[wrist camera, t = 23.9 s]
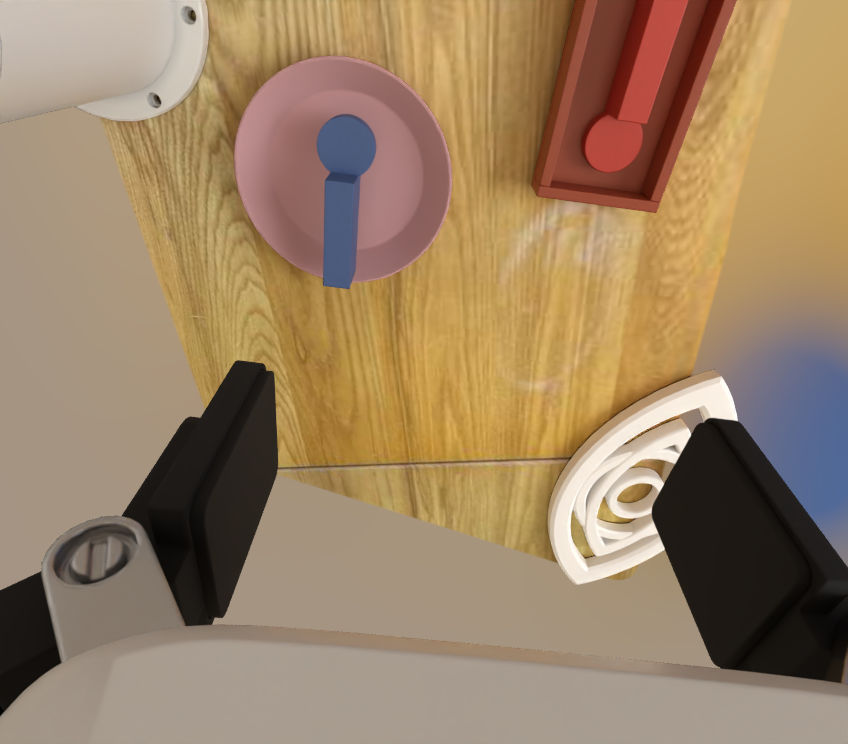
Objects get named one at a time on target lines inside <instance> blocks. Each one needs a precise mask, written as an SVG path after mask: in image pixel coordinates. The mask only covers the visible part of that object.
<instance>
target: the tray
mask: <svg viewBox="0 0 848 744" xmlns="http://www.w3.org/2000/svg"><path fill="white" fill-rule="evenodd" d="M636 1H637V0H575V4H574V8H573V12H572V16H571V21H570V25H569V29H568V33H567V37H566V42H565V46H564V50H563V54H562V59H561V63H560V67H559V71H558V76H557V80H556V84H555V88H554V92H553V97H552V101H551V105H550V109H549V114H548V118H547V122H546V126H545V130H544V135H543V139H542V143H541V147H540V152H539V156H538V160H537V164H536V169H535V173H534V177H533V181H532V188H533V189H534V191H535V193H536V195H537V196H538V197H545V198H552V199H559V200H566V201H574V202H581V203H588V204H595V205H603V206H610V207H617V208H624V209H631V210H639V211H646V212H653V213H656V212H657V209H658V207H659V204H660V201H661V199H662V196H663V193H664V191H665V188H666V185H667V183H668V180H669V178H670V175H671V172H672V170H673V167H674V164H675V162H676V159H677V156H678V154H679V151H680V149H681V146H682V143H683V141H684V138H685V135H686V133H687V130H688V127H689V125H690V122H691V120H692V117H693V114H694V112H695V109H696V106H697V104H698V101H699V99H700V96H701V93H702V91H703V88H704V85H705V83H706V80H707V77H708V75H709V72H710V70H711V67H712V64H713V62H714V59H715V56H716V54H717V51H718V48H719V46H720V43H721V41H722V38H723V35H724V33H725V30H726V27H727V25H728V22H729V19H730V17H731V14H732V12H733V9H734V6H735V4H736V1H737V0H688V3H687V6H686V9H685V12H684V15H683V18H682V21H681V24H680V27H679V30H678V33H677V36H676V39H675V41H674V44H673V47H672V50H671V53H670V56H669V59H668V62H667V65H666V68H665V71H664V74H663V77H662V80H661V83H660V86H659V89H658V92H657V95H656V98H655V101H654V104H653V107H652V110H651V113H650V115H649V118H648V121H647V124H641V127H642V130H643V142H642V146H641V149H640V151H639V153H638V155H637V156H636V158H635V159H634V160H633V161H632V162H631V163H630V164H629V165H628V166H627V167H625V168H624V169H622V170H619V171H617V172H612V173H604V172H600V171H597V170H596V169H594V168H593V167H592V166H591V165H590V164H589V163H588V162H587V161H586V160H585V158H584V156H583V153H582V138H583V134H584V132H585V130H586V128H587V126H588V125H589V123H590V122H591V121H592V120H593V119H594V118H595V117H596V116H598V115H599V114H601V113H603V112H604V111H605V107H606V104H607V101H608V97H609V94H610V90H611V87H612V83H613V80H614V77H615V73H616V70H617V66H618V63H619V59H620V56H621V53H622V49H623V46H624V42H625V39H626V35H627V32H628V29H629V25H630V22H631V18H632V15H633V12H634V8H635V5H636Z"/></svg>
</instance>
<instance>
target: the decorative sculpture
mask: <svg viewBox="0 0 848 744" xmlns="http://www.w3.org/2000/svg"><path fill="white" fill-rule="evenodd" d="M696 408H698V409H699V411H700V414H701V417H702V420H703V423H704V421H705V420H707V419H708V418H719V419H727V420H735V421H738V420H737V414H736V410H735V406H734V402H733V398H732V396H731V394H730V391H729V389H728V387H727V385H726V383H725V381H724V380H723V378H722V377H721V375H720V374H719V373H718V372H717V371H716V370H715V369H714V370H710V371H706V372H703V373H700V374H697V375H695V376H692V377H689V378H686V379H684V380H681V381H678V382H676V383H674V384H672V385H669V386H667V387H665V388H663V389H661V390H658V391H656V392H654V393H653V394H651V395H649V396H647V397H645V398H643V399H641V400H640V401H638V402H636V403H634V404H633V405H631V406H630V407H628V408H626V409H625V410H623V411H622V412H620V413H619V414H618V415H616V416H615V417H613V418H612V419H611V420H609V421H608V422H607V423H605V424H604V425H603V426H602V427H601V428H600V429H598V430H597V431H596V432H595V433H594V434H593V435H592V436H590V437H589V439H588V440H587V441H586V442H585V443H584V444H583V445H582V446H581V447H580V448H579V449H578V450H577V451H576V453H575V454H574V455H573V457H572V458H571V459H570V461H569V462H568V463H567V465H566V466H565V468H564V470H563V471H562V473H561V474H560V477H559V479H558V481H557V483H556V485H555V487H554V490H553V492H552V495H551V498H550V503H549V508H548V520H547V524H548V533H549V537H550V541H551V545H552V548H553V552H554V555H555V557H556V559H557V561H558V564H559V565H560V567H561V568H562V570H563V571H564V573H565V574H566V575H567V576H568V577H569V579H570V580H571V581H572V582H573V583H574V584H576V585H578V584H583V583H587V582H591V581H594V580H598V579H601V578H605V577H608V576H611V575H614V574H616V573H619V572H621V571H624V570H626V569H629V568H631V567H633V566H635V565H637V564H639V563H641V562H644V561H646V560H647V559H649V558H651V557H653V556H655V555H656V554H658V553H660V552H661V551H663V550H664V549H665V548H664V546H663V544H662V541H661V539H660V536H659V534H658V532H657V529H656V527H655V524H654V522H653V519H652V506H653V503H654V501H655V500H656V498H657V496H658V494H659V492H660V491H661V489H662V487H663V485H664V483H663V481H662V480H661V478H660V476H659V475H658V473H656V472H655V471H654V470H652V469H649V468H644V467H636V468H630V467H632V466H633V465H635V464H636V463H637V462H639V461H641V460H642V459H660V460H665V461H668V462H671V463H674V464H675V463H676V462H677V460H678V458H679V456H680V454H681V452H682V451H683V449H684V447H685V445H686V443H687V442H688V440H689V438H690V436H691V433H690V431H689V429H688V427H687V426H686V424H685V423H684V422H683V420H682V419H681V418H679V419H676V420H673V421H670V422H668V423H665V424H663V425H660V426H658V427H656V428H654V429H652V430H650V431H648V432H646V433H644V434H643V435H641V436H639V437H637V438H636V439H634V440H633V441H631V442H630V443H628V444H625V445H623V444H624V443H626V442H627V441H629V440H630V439H631V438H633V437H635V436H636V435H638V434H640V433H641V432H643V431H645V430H646V429H648V428H650V427H652V426H654V425H656V424H658V423H660V422H662V421H665V420H667V419H669V418H672V417H674V416H676V415H679V414H682V413H684V412H687V411H690V410H693V409H696ZM629 468H630V469H629ZM638 483H648V484H651V485H652V489H651V491H650V493H649V494H648V495H647V496H646V497H644V498H643V499H641V500H639V501H637V502H633V503H623V502H619V501H618V500H617V497H618V495H619V494H620V493H621V492H622V491H623V490H624V489H625V488H627V487H629V486H631V485H634V484H638ZM604 496H605V499H606V502H607V504H608V507H609V509H610V510H611V512H613V513H614V514H615V515H617V516H619V517H622V518H637V519H635V520H634V521H632V522H630V523H627V524H616V523H609V522H605V521H602V520H600V519H598V518H597V514H598V509H599V506H600V504H601V501H602V499H603V497H604ZM572 510H574V513H575V516H576V518H577V520H578V521H579V523H580V524H581V525H582V527H583V530H584V534H585V536H586V539H587V542H588V544H589V546H590V548H591V550H592V551H593V553H594V554H595V555H596V556H593V557H590V558H586V559H585V558H584V557H583V556H582V555H581V553H580V552H579V551H578V549H577V548H576V546H575V544H574V542H573V540H572V537H571V528H570V524H571V514H572Z"/></svg>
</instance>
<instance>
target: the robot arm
mask: <svg viewBox="0 0 848 744" xmlns="http://www.w3.org/2000/svg"><path fill="white" fill-rule="evenodd" d="M192 10H193V11H195V14H196V20H195V21H194V20H193V19H192V18H191V12H192ZM208 39H209V28H208V11H207V6H206V1H205V0H0V123H5V122H9V121H13V120H18V119H21V118H26V117H31V116H35V115H38V114H43V113H48V112H52V111H56V110H60V109H65V108H69V107H73V106H74V107H76V108H78V109H80V110H83V111H85V112H87V113H89V114H92V115H94V116H97V117H101V118H105V119H110V120H114V121H133V122H134V121H139V120H145V119H150V118H153V117H156V116H159V115H162V114H164V113H166V112H168V111H169V110H171V109H173V108H174V107H176V106H177V105H179V104H180V103H181V102H182V101H183V100H184V99H185V98H186V97H187V96H188V95H189V94H190V93H191V91H192V89H193V88H194V86H195V84H196V83H197V81H198V79H199V77H200V75H201V72H202V69H203V66H204V63H205V60H206V55H207V47H208ZM157 95H158V96H159V97H160V100H161V103H160V102H159V101H158V100H157ZM277 469H278V448H277V426H276V403H275V381H274V373H273V372H272V371H266V367H265V365H264V364H263V363H255V362H247V361H239V360H238V361H235V363H234V364H233V366H232V367H231V369H230V371H229V372H228V374H227V375H226V377H225V379H224V380H223V382H222V384H221V385H220V387H219V389H218V390H217V392H216V393H215V395H214V397H213V398H212V400H211V402H210V403H209V405H208V407H207V408H206V410H205V411H204V413H203V415H202V416H201V418H197V417H188V418H186V419H185V420H184V422H183V423H182V424H181V425H180V427H179V429H178V430H177V432H176V433H175V435H174V436H173V438H172V439H171V441H170V442H169V444H168V446H167V447H166V448H165V450H164V452H163V453H162V455H161V456H160V458H159V459H158V461H157V463H156V464H155V466H154V467H153V469H152V470H151V472H150V473H149V475H148V476H147V478H146V479H145V481H144V482H143V484H142V486H141V487H140V489H139V490H138V492H137V493H136V495H135V496H134V498H133V499H132V501H131V502H130V504H129V505H128V507H127V509H126V510H125V512H124V513H123V515H122V516H105V517H99V518H95V519H92V520H88V521H85V522H83V523H81V524H79V525H77V526H75V527H73V528H71V529H70V530H68V531H67V532H65V533H64V534H63V535H61V536H60V537H59V538H57V540H56V541H55V542H54V543H53V544H52V545H51V547H50V548H49V549H48V550H47V552H46V554H45V556H44V559H43V561H42V567H41V572H39V573H37V574H34V575H33V576H30V577H28V578H26V579H24V580H22V581H19V582H17V583H16V584H13V585H11V586H9V587H7V588H5V589H2V590H0V744H848V567H847V566H846V564H845V563H844V562H843V560H842V559H841V558H840V556H839V555H838V554H837V552H836V551H835V550H834V549H833V547H832V546H831V544H830V543H829V542H828V540H827V539H826V538H825V536H824V535H823V533H822V532H821V531H820V529H819V528H818V527H817V525H816V524H815V523H814V521H813V520H812V518H811V517H810V516H809V515H808V513H807V512H806V510H805V509H804V508H803V506H802V505H801V504H800V503H799V501H798V500H797V498H796V497H795V495H794V494H793V493H792V492H791V490H790V489H789V487H788V486H787V485H786V483H785V482H784V481H783V479H782V478H781V477H780V475H779V474H778V473H777V471H776V470H775V469H774V467H773V466H772V464H771V463H770V462H769V460H768V459H767V458H766V456H765V455H764V454H763V452H762V451H761V450H760V448H759V447H758V446H757V444H756V443H755V442H754V440H753V439H752V437H751V436H750V435H749V433H748V432H747V431H746V429H745V428H744V427H743V425H742V424H741V423H740V422H738V421H735V420H727V419H719V418H708V419H707V420H705V421H704V423H700V424H698V425H697V426H696V427H695V429H694V431H693V433H692V434H691V436H690V438H689V440H688V442H687V443H686V445H685V447H684V449H683V451H682V452H681V454H680V456H679V458H678V460H677V462H676V463H675V466H674V467H673V469H672V471H671V472H670V474H669V476H668V478H667V480H666V481H665V483H664V485H663V487H662V489H661V491H660V492H659V494H658V496H657V498H656V500H655V501H654V503H653V506H652V519H653V522H654V524H655V527H656V529H657V532H658V534H659V536H660V539H661V541H662V544H663V546H664V548H665V551H666V553H667V555H668V558H669V560H670V562H671V565H672V567H673V570H674V572H675V575H676V577H677V579H678V582H679V584H680V587H681V589H682V591H683V593H684V596H685V598H686V601H687V603H688V606H689V608H690V610H691V613H692V615H693V618H694V620H695V622H696V624H697V627H698V629H699V632H700V634H701V637H702V639H703V641H704V644H705V646H706V649H707V651H708V653H709V656H710V658H711V660H712V661H713V663H714V664H715V665H716V666H718V667H720V668H721V669H719V668H709V667H700V666H689V665H680V664H670V663H660V662H652V661H641V660H632V659H622V658H612V657H602V656H592V655H582V654H572V653H562V652H552V651H542V650H531V649H521V648H511V647H501V646H490V645H479V644H470V643H458V642H447V641H437V640H426V639H416V638H405V637H394V636H383V635H373V634H361V633H350V632H338V631H324V630H312V629H298V628H286V627H273V626H272V627H271V626H253V625H212V623H213V621H214V618H215V617H217V618H223V617H224V615H225V613H226V611H227V608H228V606H229V604H230V600H231V598H232V595H233V593H234V590H235V587H236V584H237V582H238V579H239V576H240V573H241V571H242V568H243V565H244V563H245V560H246V557H247V555H248V552H249V549H250V546H251V544H252V541H253V538H254V535H255V533H256V530H257V527H258V525H259V522H260V519H261V516H262V513H263V511H264V508H265V505H266V503H267V500H268V497H269V495H270V492H271V489H272V486H273V484H274V481H275V478H276V474H277Z"/></svg>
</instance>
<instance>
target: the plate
mask: <svg viewBox="0 0 848 744" xmlns="http://www.w3.org/2000/svg"><path fill="white" fill-rule="evenodd" d="M340 114H351V115H354V116H357V117H359V118H361V119H362V120H364V121H365V122H366V123H367V124H368V125H369V127H370V128H371V130H372V132H373V133H374V136H375V140H376V155H375V158H374V160H373V162H372V164H371V166H370V168H369V169H368V170H367V171H366V172H365V173H364V174H362V175H361V178H360V197H359V216H358V234H357V253H356V271H355V274H354V277H353V280H352V283H356V282H368V281H374V280H378V279H382V278H385V277H388V276H390V275H393V274H395V273H397V272H399V271H401V270H403V269H404V268H406V267H407V266H409V265H410V264H412V263H413V262H414V261H416V260H417V259H418V258H419V257H420V256H421V255H422V254H423V253H424V252H425V251H426V250H427V249H428V248H429V246H430V245H431V244H432V242H433V241H434V239H435V238H436V236H437V235H438V233H439V231H440V229H441V227H442V225H443V223H444V220H445V217H446V215H447V211H448V208H449V204H450V198H451V191H452V169H451V161H450V155H449V151H448V147H447V144H446V141H445V138H444V135H443V133H442V130H441V128H440V126H439V124H438V122H437V120H436V119H435V117H434V115H433V113H432V112H431V110H430V109H429V107H428V106H427V105H426V103H425V102H424V101H423V100H422V98H421V97H420V96H419V95H418V94H417V93H416V92H415V91H414V90H413V89H412V88H411V87H410V86H409V85H408V84H406V83H405V82H404V81H403V80H401V79H400V78H399V77H397V76H396V75H394V74H393V73H391V72H389V71H388V70H386V69H384V68H382V67H380V66H378V65H375V64H373V63H371V62H368V61H365V60H361V59H357V58H352V57H346V56H319V57H313V58H309V59H305V60H302V61H299V62H296V63H294V64H291V65H289V66H287V67H285V68H284V69H282V70H280V71H279V72H277V73H276V74H274V75H273V76H272V77H271V78H269V79H268V80H267V81H266V82H265V83H264V84H263V85H262V86H261V87H260V88H259V89H258V91H257V92H256V93H255V94H254V96H253V97H252V99H251V100H250V102H249V104H248V105H247V107H246V109H245V111H244V113H243V115H242V118H241V121H240V123H239V127H238V130H237V135H236V140H235V148H234V169H235V177H236V183H237V187H238V191H239V194H240V198H241V200H242V203H243V205H244V208H245V210H246V212H247V214H248V216H249V218H250V220H251V222H252V223H253V225H254V226H255V228H256V229H257V231H258V232H259V234H260V235H261V236H262V237H263V239H264V240H265V241H266V242H267V243H268V244H269V245H270V246H271V247H272V248H273V249H274V250H275V251H276V252H277V253H278V254H279V255H280V256H282V257H283V258H284V259H286V260H287V261H288V262H290V263H291V264H293V265H294V266H296V267H298V268H300V269H301V270H303V271H306V272H308V273H310V274H312V275H315V276H318V277H321V278H323V259H324V196H325V179H326V178H327V177H328V175H329V174H330V173H331V172H329V171H328V170H327V169H326V168H325V167H324V165H323V164H322V162H321V160H320V158H319V156H318V152H317V137H318V134H319V131H320V129H321V128H322V126H323V125H324V124H325V123H326V122H327V121H328V120H330V119H331V118H333V117H334V116H337V115H340Z"/></svg>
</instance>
